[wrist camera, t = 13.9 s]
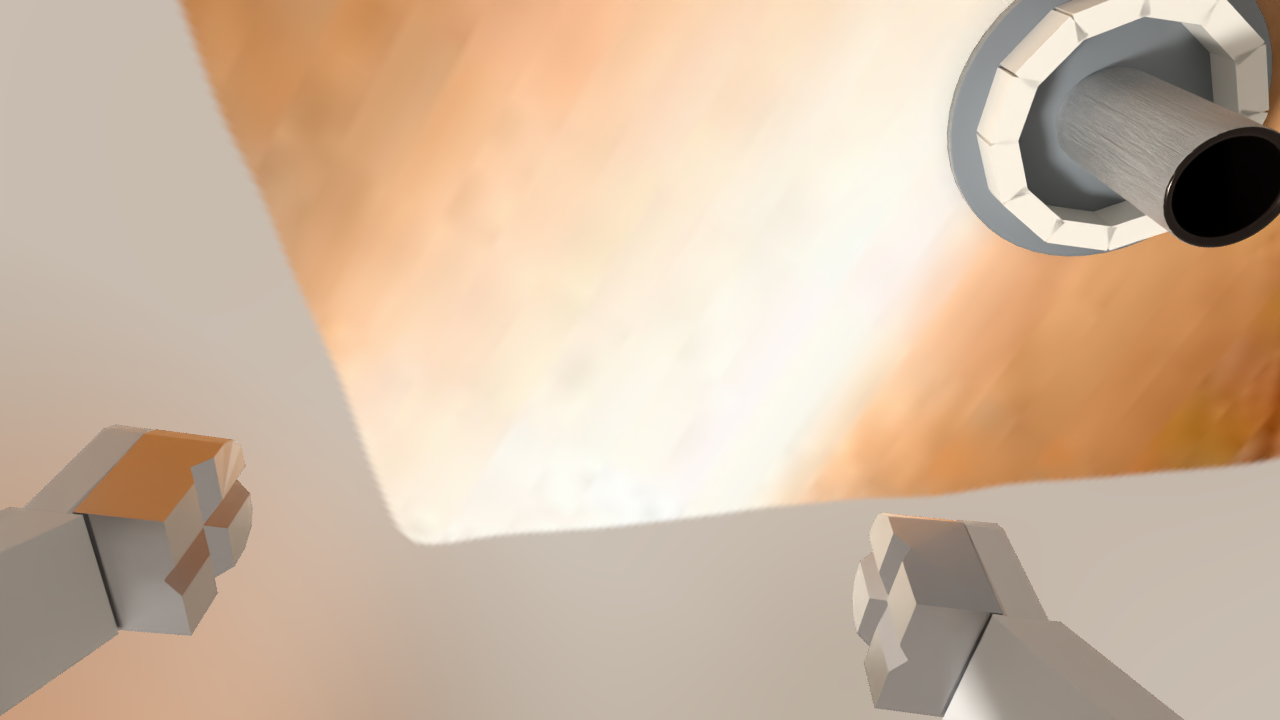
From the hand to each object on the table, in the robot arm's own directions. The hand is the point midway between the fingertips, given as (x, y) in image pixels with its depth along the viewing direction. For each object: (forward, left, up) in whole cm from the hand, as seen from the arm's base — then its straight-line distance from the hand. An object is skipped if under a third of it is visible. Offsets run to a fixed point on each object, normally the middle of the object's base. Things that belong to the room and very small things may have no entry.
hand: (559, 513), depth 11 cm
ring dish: (0, +22, -33) cm, 39 cm away
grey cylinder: (0, +22, -32) cm, 39 cm away
